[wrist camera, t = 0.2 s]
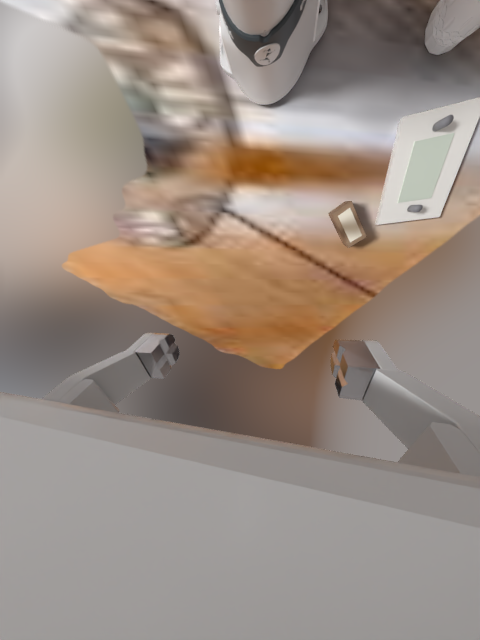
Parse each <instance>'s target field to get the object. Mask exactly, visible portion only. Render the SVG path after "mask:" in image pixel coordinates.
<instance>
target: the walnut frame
mask: <svg viewBox="0 0 480 640" xmlns="http://www.w3.org/2000/svg"><path fill="white" fill-rule="evenodd" d="M328 214H329V216H330V218H331V220H332V222H333V224H334V226H335V229H336V231H337V233H338V235H339V237H340V239H341V241H342V243H343V245H345V246H347V247H348V248H349V247H351V246H353V245H354V244H356V243H358V242H359V241H361V240H363V239H364V238H366V237H367V236H366V234H365V232H364V229H363V227H362V225H361V222H360V220H359V218H358V215H357V213H356V211H355V208H354V206H353V203H352V201H345V202H344V203H342V204H341V205H339V206H338V207H337V208H335V209H334V210H332V211H331V212H330V213H328Z"/></svg>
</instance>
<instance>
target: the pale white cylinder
mask: <svg viewBox="0 0 480 640" xmlns="http://www.w3.org/2000/svg"><path fill="white" fill-rule="evenodd" d="M479 27H480V0H439V2H438V3H437V5H436V7H435V8H434V10H433V11H432V13H431V16H430V18H429V21H428V24H427V27H426V30H425V46H426V48H427V50H428V52H429V53H432V54H435V55H440V54H443V53H445V52H448V51H450V50H451V49H453V48H454V47H455V46H456V45H457V44H459V43H460V42H461V41H462V40H463V39H465V38H466V37H468V36H469V35H471V34H472V33H473V32H474V31H475V30H477V29H478V28H479Z"/></svg>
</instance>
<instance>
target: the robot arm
mask: <svg viewBox="0 0 480 640" xmlns="http://www.w3.org/2000/svg"><path fill="white" fill-rule="evenodd" d="M319 9H321V13H320V14H318V13H319ZM216 10H217V14H218V15H220V27H219V34H220V63H221V67H222V70H223V71H224V72H225V73H226V74H227V75H228V76H230V77H231V78H233V79H234V80H235V81H236V82H237V84H238V85H239V87H240V89H241V90H242V92H243V93H244V94H245V96H246V97H247V98H248V99H250V100H251V101H253V102H254V103H257V104H261V105H268V104H272V103H275V102H277V101H279V100H280V99H282V98H283V97H284V96H285V95H286V94H287V93H288V92H289V91H290V90H291V89H292V88H293V86H294V85H295V84H296V82H297V80H298V79H299V77H300V75H301V73H302V71H303V69H304V66H305V64H306V61H307V59H308V57H309V54H310V52H311V50H312V49H313V48H314V46H315V45H316V44H317V42H318V41H319V40H320V38H321V37H322V35H323V33H324V31H325V29H326V27H327V21H328V4H327V0H216ZM174 342H175V338H174V336H173V335H171V334H161V333H146V334H144V335H143V336H142V337H141V338H140V339H138V340H137V341H136V342H135V343H134V344H133V345H132V346H131V347H130V348H128V349H127V350H126V351H125V352H121V353H119V354H116V355H114V356H112V357H110V358H108V359H106V360H104V361H102V362H99V363H97V364H95V365H93V366H91V367H89V368H86V369H84V370H82V371H80V372H78V373H76V374H74V375H71V376H70V377H69V378H67V379H66V380H65V381H63V382H62V383H61V384H60V385H58V386H57V387H56V388H55V389H53V390H52V391H51V392H49V393H48V394H47V395H46V396H44V397H43V398H42V399H37V398H31V397H26V396H20V395H15V394H9V393H4V392H0V640H480V416H479V415H477V414H475V413H474V412H472V411H470V410H469V409H467V408H465V407H464V406H462V405H460V404H459V403H457V402H455V401H453V400H452V399H450V398H449V397H447V396H445V395H443V394H442V393H440V392H438V391H437V390H435V389H433V388H432V387H430V386H428V385H427V384H425V383H423V382H422V381H420V380H418V379H417V378H415V377H413V376H411V375H410V374H408V373H406V372H405V371H399V370H398V369H397V367H396V366H395V364H394V363H393V362H392V360H391V359H390V358H389V356H388V355H387V353H386V352H385V350H384V349H383V348H382V346H381V345H380V343H379V342H378V341H376V340H362V341H360V340H335V342H334V345H333V348H334V351H335V352H334V353H333V354H331V371H332V375H333V376H334V377H335V378H336V381H335V386H336V389H337V392H338V396H339V397H340V398H347V399H355V400H362V401H363V403H364V404H365V405H366V406H367V407H368V408H369V409H370V410H371V411H372V412H373V413H374V414H375V415H376V416H377V417H378V418H379V419H380V420H381V421H382V422H383V423H384V424H385V425H386V427H388V429H389V430H390V431H391V432H392V433H393V434H394V435H395V436H396V437H397V438H398V439H399V440H400V441H401V442H402V443H403V444H404V445H405V446H406V447H407V448H408V450H407V452H406V453H405V454H404V455H403V456H402V457H401V458H400V460H399V461H398V462H393V461H387V460H381V459H376V458H370V457H364V456H358V455H353V454H347V453H342V452H336V451H330V450H325V449H319V448H314V447H308V446H302V445H297V444H291V443H285V442H280V441H274V440H268V439H263V438H257V437H252V436H246V435H241V434H235V433H229V432H224V431H218V430H212V429H206V428H201V427H196V426H190V425H184V424H179V423H173V422H167V421H162V420H156V419H150V418H145V417H139V416H133V415H128V414H122V413H119V409H118V408H117V407H116V406H115V405H116V404H117V403H119V402H120V401H121V400H122V399H124V398H125V397H127V396H128V395H129V394H131V393H132V392H133V391H135V390H136V389H137V388H139V387H140V386H141V385H143V384H144V383H145V382H147V381H148V380H149V379H150V378H162V379H164V378H165V377H166V376H167V374H168V373H169V371H170V370H171V365H173V364H174V363H176V361H177V360H178V358H179V353H180V352H179V348H178V346H177V345H176V344H175V343H174Z"/></svg>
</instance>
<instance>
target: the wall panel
mask: <svg viewBox="0 0 480 640" xmlns="http://www.w3.org/2000/svg"><path fill="white" fill-rule="evenodd" d="M479 117H480V97H478V98H474V99H471V100H467V101H463V102H459V103H455V104H451V105H447V106H443V107H439V108H435V109H431V110H427V111H423V112H420V113H416V114H412V115H408V116H404V117H402V118H401V119H400V120H399V124H398V129H397V133H396V137H395V141H394V146H393V150H392V154H391V158H390V163H389V167H388V171H387V175H386V180H385V184H384V188H383V192H382V197H381V201H380V205H379V209H378V214H377V218H376V222H375V225H380V224H388V223H396V222H404V221H411V220H419V219H427V218H435V217H440V215H441V212H442V210H443V207H444V205H445V202H446V200H447V197H448V195H449V192H450V190H451V187H452V185H453V182H454V180H455V177H456V175H457V172H458V170H459V167H460V165H461V162H462V160H463V157H464V155H465V152H466V150H467V147H468V145H469V142H470V140H471V137H472V135H473V132H474V130H475V127H476V125H477V122H478V120H479Z"/></svg>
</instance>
